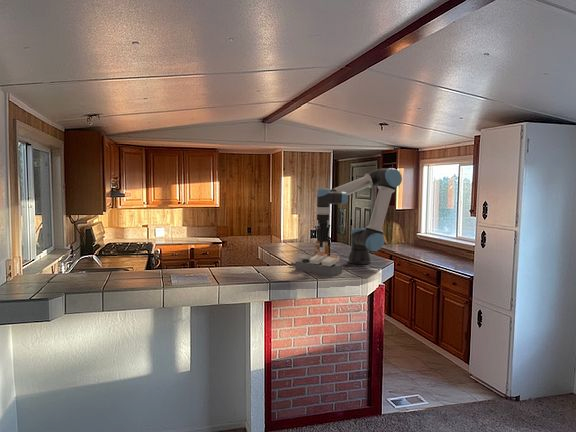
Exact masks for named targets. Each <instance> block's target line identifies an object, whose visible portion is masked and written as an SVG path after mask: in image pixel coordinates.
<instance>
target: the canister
mask: <svg viewBox="0 0 576 432" xmlns="http://www.w3.org/2000/svg"><path fill="white" fill-rule="evenodd" d="M315 238H316V239H317V235H316V236H315ZM326 241H327V242H325V252H324V253H323V254H327V257H329V256H330V255H331V241H332V237H330V236H329V235H328V240H326ZM318 253H322V252H320V242H319V241H317V240H315V244H314V256H315V255H317V254H318Z"/></svg>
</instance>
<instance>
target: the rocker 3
mask: <svg viewBox="0 0 576 432" xmlns="http://www.w3.org/2000/svg"><path fill="white" fill-rule="evenodd" d="M340 260H341V259H340V255H335V254H330V256H329V257H327V258H326V259H324V260H323V261H321V262H322V265H324V266H332V265H333V264H337V263H338V262H339V261H340Z"/></svg>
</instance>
